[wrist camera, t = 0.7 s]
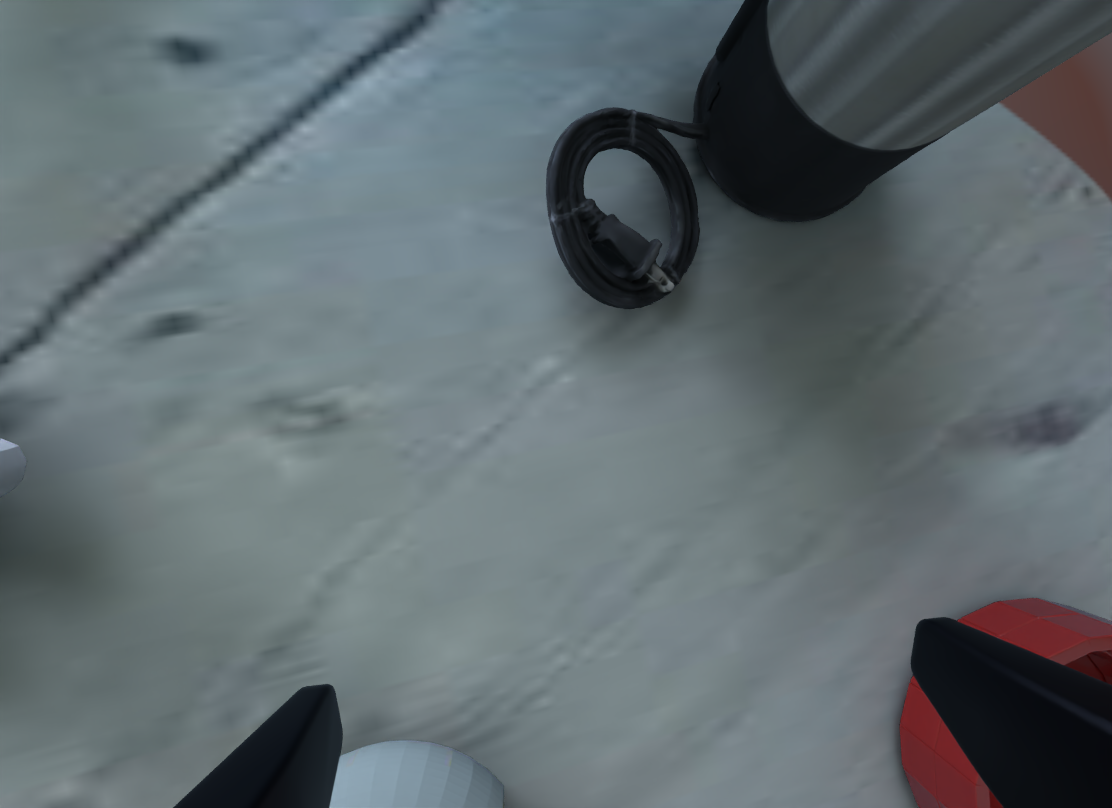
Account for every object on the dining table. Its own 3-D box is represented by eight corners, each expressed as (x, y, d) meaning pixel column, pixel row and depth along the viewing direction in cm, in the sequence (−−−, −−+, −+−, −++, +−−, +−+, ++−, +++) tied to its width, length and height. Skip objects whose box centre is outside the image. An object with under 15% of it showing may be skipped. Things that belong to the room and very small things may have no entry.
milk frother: (910, 74, 25) (1488, -412, 10) (803, 387, 24) (1251, 353, 10) (631, -46, 24) (823, -784, 9) (513, 277, 23) (512, 50, 9)
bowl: (1050, 898, 25) (1166, 1004, 21) (844, 772, 24) (919, 854, 20) (1171, 676, 26) (1309, 732, 21) (975, 546, 25) (1075, 576, 21)
